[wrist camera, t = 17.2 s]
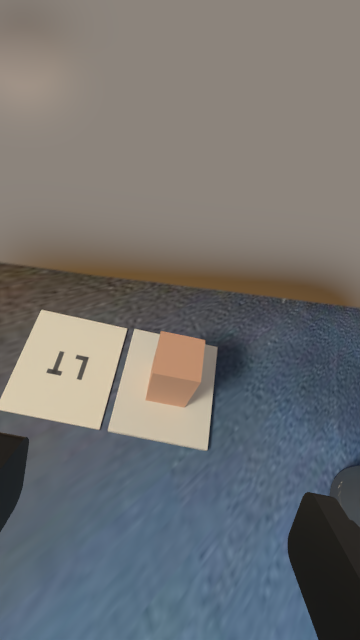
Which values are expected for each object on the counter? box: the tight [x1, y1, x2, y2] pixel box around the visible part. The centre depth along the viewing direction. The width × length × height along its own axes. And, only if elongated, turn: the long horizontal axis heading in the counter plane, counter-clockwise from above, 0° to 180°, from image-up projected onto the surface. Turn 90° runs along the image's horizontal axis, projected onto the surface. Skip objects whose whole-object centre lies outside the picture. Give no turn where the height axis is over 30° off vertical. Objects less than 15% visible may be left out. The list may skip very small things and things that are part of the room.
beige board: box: [108, 329, 218, 451], centre depth 43 cm, size 12×14×1 cm
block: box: [145, 331, 205, 408], centre depth 39 cm, size 5×5×9 cm
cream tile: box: [0, 310, 127, 430], centre depth 42 cm, size 12×14×1 cm
